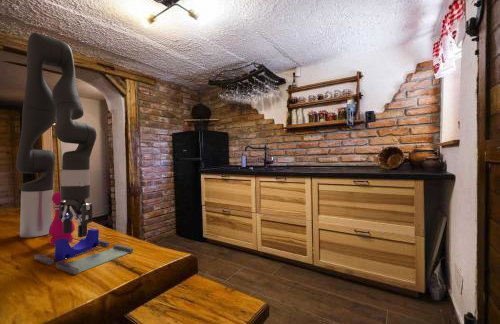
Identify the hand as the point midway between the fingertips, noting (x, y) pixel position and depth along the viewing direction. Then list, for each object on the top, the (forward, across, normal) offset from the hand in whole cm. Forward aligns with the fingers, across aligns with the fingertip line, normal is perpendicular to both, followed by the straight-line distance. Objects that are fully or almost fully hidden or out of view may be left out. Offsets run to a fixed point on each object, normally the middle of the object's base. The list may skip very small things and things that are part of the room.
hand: (74, 234), depth 73 cm
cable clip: (+6, 0, +1) cm, 6 cm away
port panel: (+6, +6, 0) cm, 8 cm away
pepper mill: (+6, -14, +3) cm, 16 cm away
